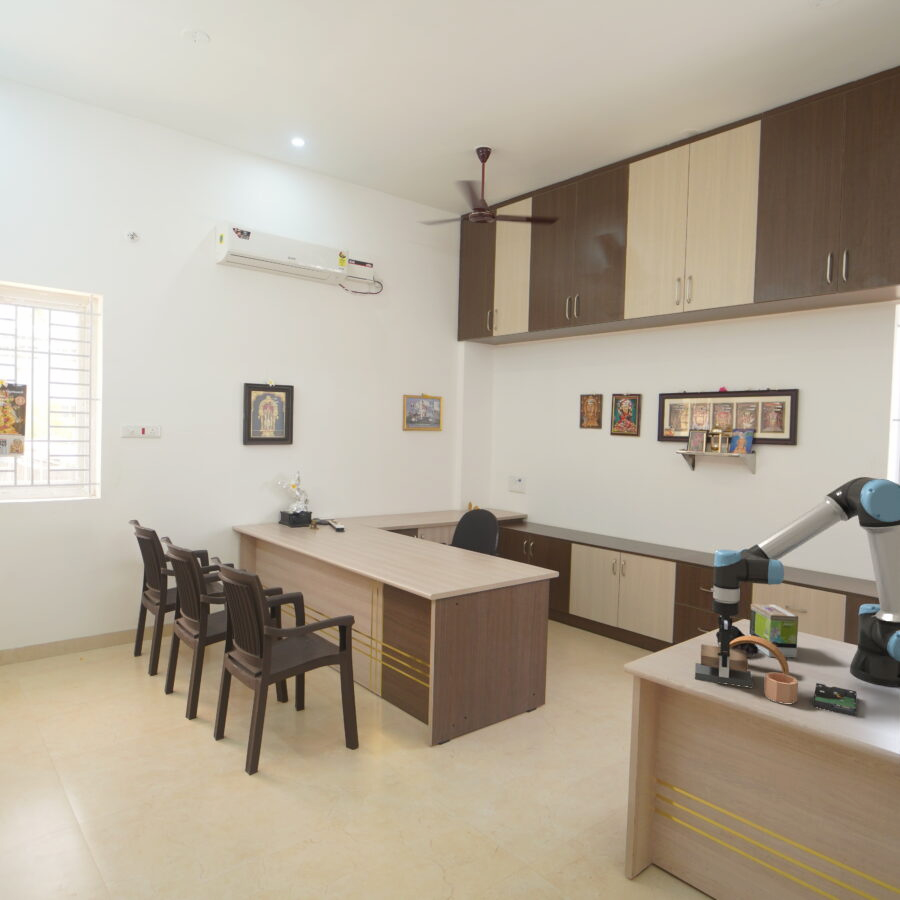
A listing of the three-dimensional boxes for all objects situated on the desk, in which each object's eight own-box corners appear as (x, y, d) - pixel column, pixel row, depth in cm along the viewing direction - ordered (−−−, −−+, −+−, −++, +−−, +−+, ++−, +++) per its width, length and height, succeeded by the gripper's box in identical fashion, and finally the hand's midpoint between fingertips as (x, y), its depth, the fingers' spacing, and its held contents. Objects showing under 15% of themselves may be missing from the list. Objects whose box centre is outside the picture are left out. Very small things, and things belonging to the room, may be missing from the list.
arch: (786, 679, 196) (787, 647, 196) (718, 664, 208) (719, 634, 208) (789, 673, 201) (790, 642, 201) (722, 659, 213) (723, 629, 212)
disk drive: (815, 691, 188) (812, 708, 176) (815, 682, 188) (813, 699, 176) (856, 700, 183) (856, 718, 170) (856, 690, 183) (857, 708, 170)
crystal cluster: (758, 651, 223) (756, 622, 224) (759, 660, 211) (757, 630, 212) (717, 647, 229) (716, 620, 230) (716, 656, 217) (714, 626, 217)
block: (750, 677, 197) (750, 671, 196) (752, 688, 188) (752, 681, 188) (695, 669, 202) (695, 662, 202) (694, 679, 194) (695, 672, 194)
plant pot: (792, 694, 184) (794, 674, 184) (798, 706, 176) (799, 686, 176) (762, 690, 186) (763, 670, 186) (766, 701, 179) (767, 681, 178)
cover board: (745, 659, 198) (745, 650, 198) (747, 672, 188) (747, 662, 188) (700, 653, 203) (701, 644, 203) (700, 665, 192) (701, 655, 192)
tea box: (797, 658, 215) (799, 615, 214) (768, 657, 215) (770, 614, 214) (775, 643, 230) (777, 603, 229) (747, 642, 230) (749, 602, 229)
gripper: (712, 590, 207) (709, 655, 207) (713, 608, 185) (710, 681, 186) (737, 592, 204) (734, 659, 205) (741, 611, 182) (738, 686, 183)
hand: (723, 670), depth 195 cm, fingers closed on cover board, 11 cm apart
